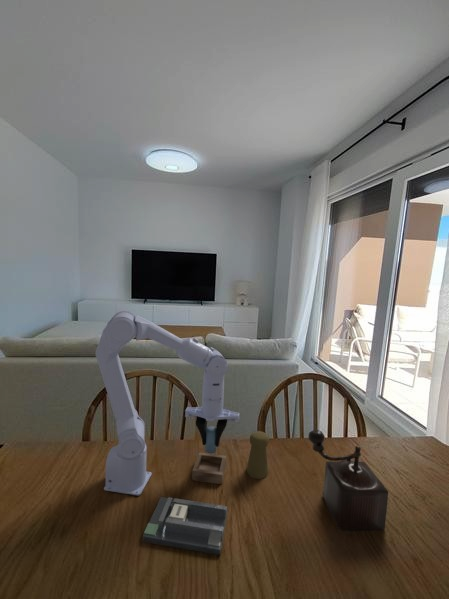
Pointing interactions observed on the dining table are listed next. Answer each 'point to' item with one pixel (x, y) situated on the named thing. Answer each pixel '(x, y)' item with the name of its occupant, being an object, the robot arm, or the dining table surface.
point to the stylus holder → (209, 468)
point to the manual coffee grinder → (352, 490)
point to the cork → (258, 455)
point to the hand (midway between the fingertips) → (211, 443)
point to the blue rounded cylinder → (211, 439)
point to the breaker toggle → (179, 512)
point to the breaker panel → (188, 526)
